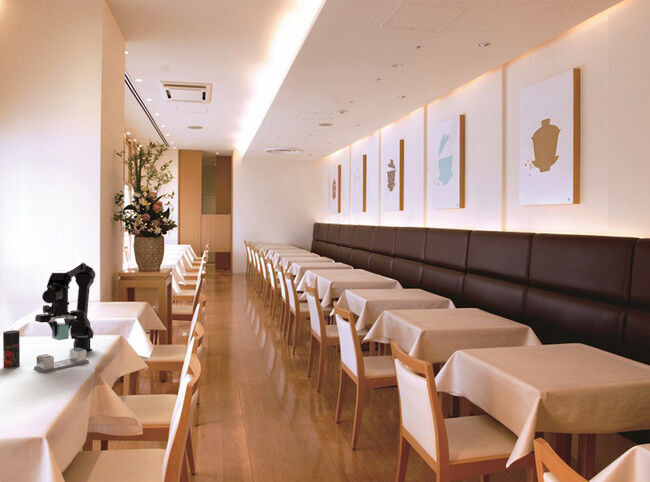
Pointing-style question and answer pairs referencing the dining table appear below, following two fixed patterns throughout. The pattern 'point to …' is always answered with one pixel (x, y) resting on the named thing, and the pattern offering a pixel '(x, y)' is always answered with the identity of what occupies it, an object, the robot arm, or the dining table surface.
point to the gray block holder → (47, 361)
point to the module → (61, 332)
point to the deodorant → (11, 349)
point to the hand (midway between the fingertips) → (60, 335)
